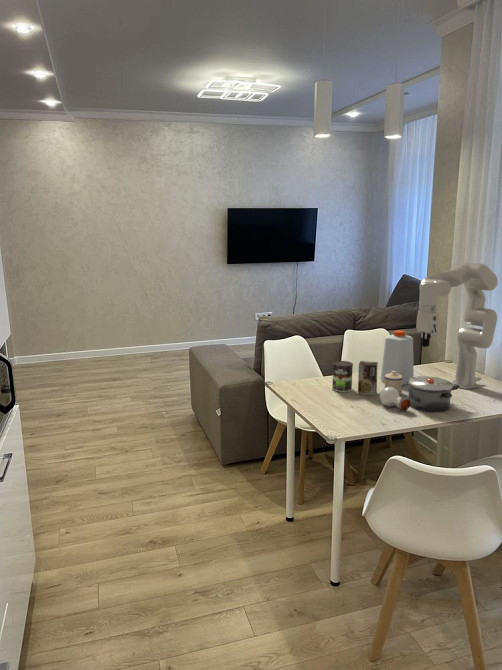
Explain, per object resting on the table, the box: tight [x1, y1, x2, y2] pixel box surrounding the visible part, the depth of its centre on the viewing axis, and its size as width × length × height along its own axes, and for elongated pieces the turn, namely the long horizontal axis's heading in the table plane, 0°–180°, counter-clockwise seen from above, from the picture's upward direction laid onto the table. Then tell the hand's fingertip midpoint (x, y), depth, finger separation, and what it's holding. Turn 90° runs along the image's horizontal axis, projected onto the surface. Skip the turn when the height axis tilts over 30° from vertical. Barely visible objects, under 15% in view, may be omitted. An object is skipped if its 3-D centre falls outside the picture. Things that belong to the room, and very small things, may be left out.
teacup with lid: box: [383, 371, 403, 396], centre depth 270 cm, size 12×9×12 cm
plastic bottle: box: [380, 329, 415, 386], centre depth 287 cm, size 15×15×28 cm
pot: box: [407, 376, 461, 413], centre depth 252 cm, size 21×25×10 cm
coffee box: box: [357, 360, 379, 397], centre depth 269 cm, size 9×6×16 cm
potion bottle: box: [379, 387, 411, 412], centre depth 249 cm, size 9×10×15 cm
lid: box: [408, 375, 453, 391], centre depth 250 cm, size 20×20×3 cm
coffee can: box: [331, 360, 354, 393], centre depth 275 cm, size 10×10×14 cm
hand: (425, 346), depth 250 cm, fingers closed
